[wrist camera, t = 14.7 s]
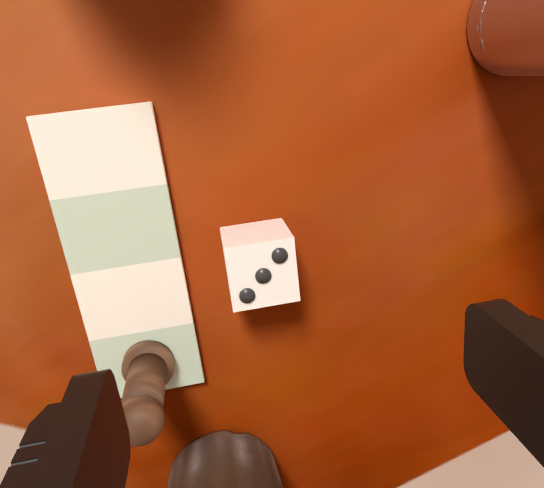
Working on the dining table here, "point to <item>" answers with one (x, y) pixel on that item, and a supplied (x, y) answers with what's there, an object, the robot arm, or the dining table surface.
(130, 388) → the pawn
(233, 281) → the die
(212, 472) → the plant pot
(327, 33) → the dining table surface
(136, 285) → the game board
